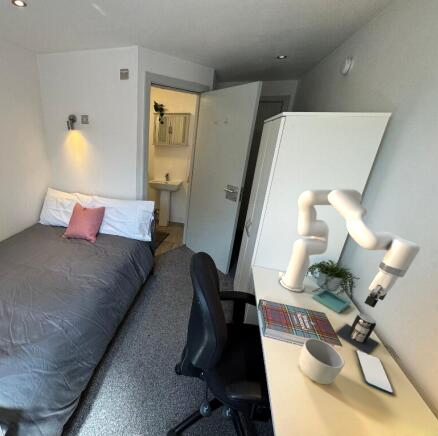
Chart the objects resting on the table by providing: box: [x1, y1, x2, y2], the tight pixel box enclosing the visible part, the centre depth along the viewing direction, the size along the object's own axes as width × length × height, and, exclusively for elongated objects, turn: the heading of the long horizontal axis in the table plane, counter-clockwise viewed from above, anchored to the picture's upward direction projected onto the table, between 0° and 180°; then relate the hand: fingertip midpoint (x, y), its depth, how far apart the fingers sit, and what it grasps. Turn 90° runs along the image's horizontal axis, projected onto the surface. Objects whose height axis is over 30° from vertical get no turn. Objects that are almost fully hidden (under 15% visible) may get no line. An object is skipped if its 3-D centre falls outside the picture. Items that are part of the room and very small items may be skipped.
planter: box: [298, 337, 346, 385], centre depth 88 cm, size 12×12×11 cm
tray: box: [313, 288, 352, 314], centre depth 129 cm, size 13×13×2 cm
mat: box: [335, 323, 379, 355], centre depth 106 cm, size 12×12×1 cm
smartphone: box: [355, 349, 394, 395], centre depth 91 cm, size 8×1×16 cm
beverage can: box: [348, 312, 377, 343], centre depth 104 cm, size 7×7×12 cm
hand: (373, 301), depth 99 cm, fingers open, 9 cm apart
